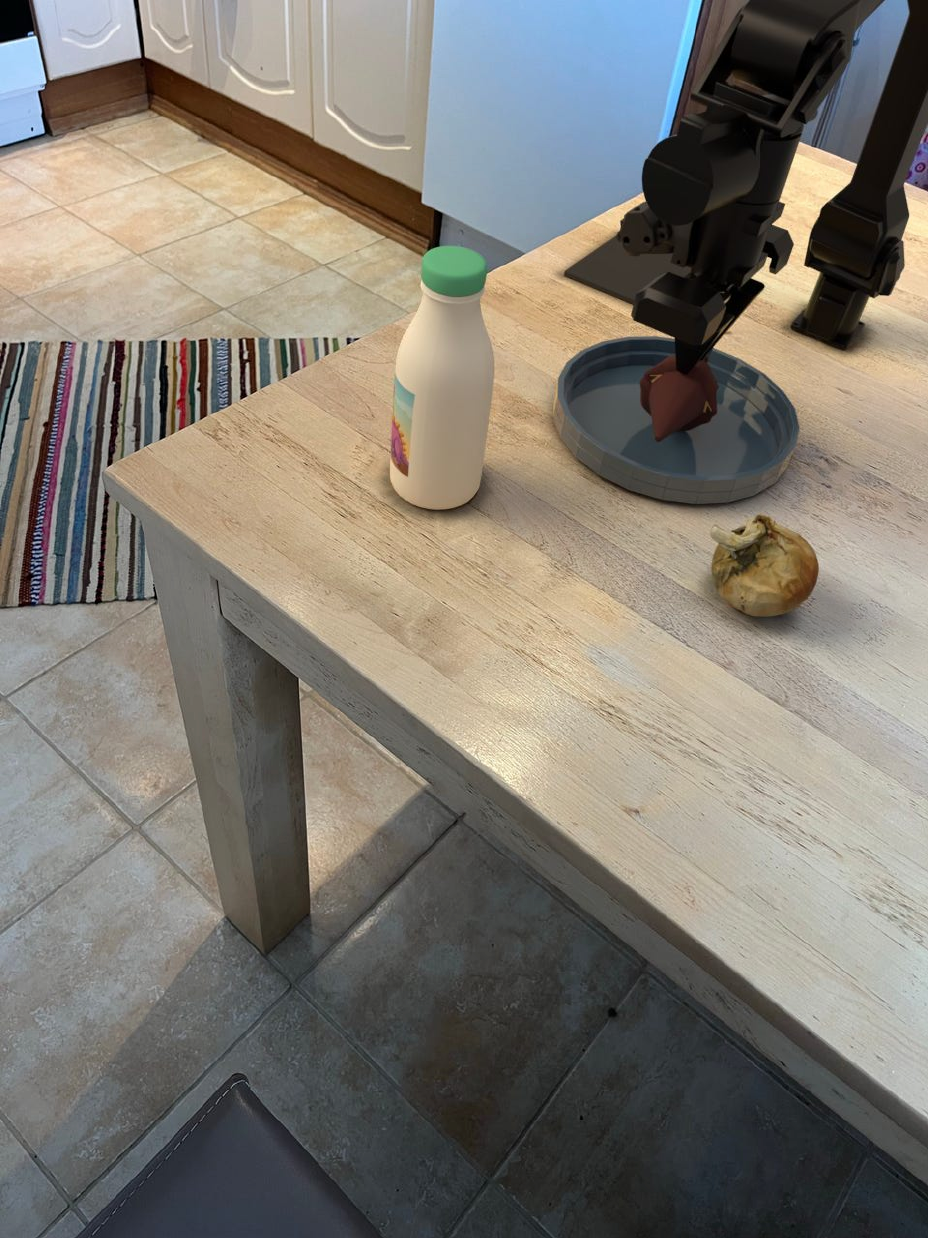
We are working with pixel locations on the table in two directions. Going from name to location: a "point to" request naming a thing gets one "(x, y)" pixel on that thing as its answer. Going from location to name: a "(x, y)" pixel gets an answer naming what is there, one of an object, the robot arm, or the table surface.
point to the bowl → (685, 460)
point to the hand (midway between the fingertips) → (689, 365)
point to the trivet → (621, 270)
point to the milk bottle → (443, 385)
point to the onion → (763, 567)
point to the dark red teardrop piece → (678, 396)
